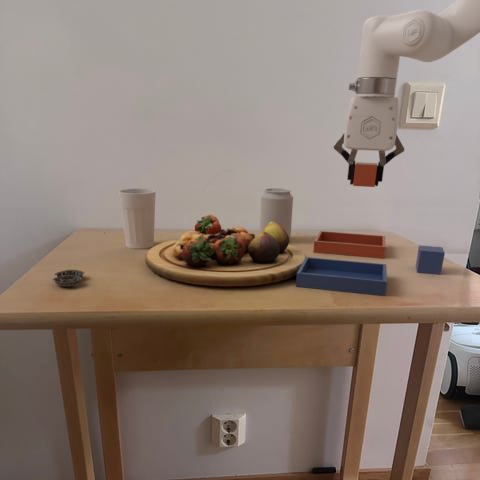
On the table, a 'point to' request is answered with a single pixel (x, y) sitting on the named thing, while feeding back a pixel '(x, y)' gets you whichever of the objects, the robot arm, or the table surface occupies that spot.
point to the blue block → (430, 259)
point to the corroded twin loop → (68, 277)
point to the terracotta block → (365, 174)
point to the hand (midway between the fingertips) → (364, 183)
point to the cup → (138, 217)
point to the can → (276, 208)
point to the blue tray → (342, 276)
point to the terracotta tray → (350, 244)
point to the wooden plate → (226, 256)
